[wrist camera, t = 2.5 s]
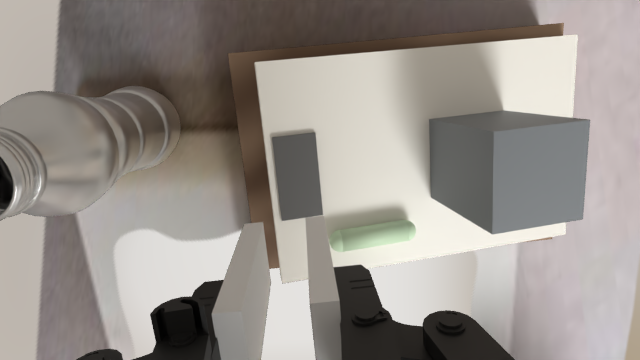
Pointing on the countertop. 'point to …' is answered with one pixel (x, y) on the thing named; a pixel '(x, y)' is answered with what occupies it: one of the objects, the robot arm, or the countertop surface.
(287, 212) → the plate
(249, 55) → the walnut base
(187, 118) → the countertop surface
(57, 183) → the plastic bottle
